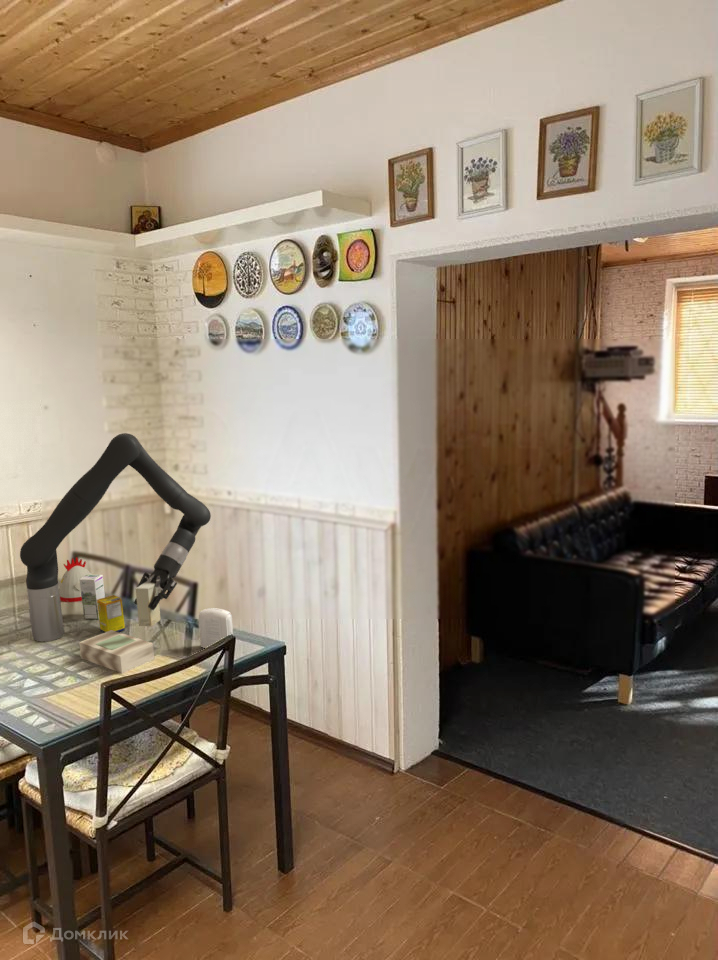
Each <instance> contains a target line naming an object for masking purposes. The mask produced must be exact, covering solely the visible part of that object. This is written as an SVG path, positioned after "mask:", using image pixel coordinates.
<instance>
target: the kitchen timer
mask: <svg viewBox="0 0 718 960" xmlns="http://www.w3.org/2000/svg"><path fill="white" fill-rule="evenodd" d="M70 561H71V563H70ZM82 562H83V559H81V558H80V559H79V558H78V557H77V556H76V557H75V560H74V558H73V557H72V558H71V560H69V559H66V564H65V563H63V566H64V568H65V569H66V571H65V573H63V575H62V578H61V580H60V583H59V593H60V602H62V603H63V602H64V603H77V602H82V596H81V588H80V579H81V578H82V577H84V576H85V575H92V573H91V572H90V571H89V570H88V569H87V568H85V567H86V565H87V561H85V560H84V562H83V564H82Z"/></svg>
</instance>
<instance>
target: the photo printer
mask: <svg viewBox="0 0 718 960" xmlns="http://www.w3.org/2000/svg"><path fill="white" fill-rule="evenodd" d="M198 613H199V614H198V626H199V628H198V630H199V642H200V648H201V647H203V648H202V649H204V648H205V647H207V646H209V645H211V644H213V643H215V642H216V641H218V640H220V639H221V638H223V637H225V636H228V635H231V634H233V635H234V629H233V616H232V613H231V612H230V611H228V610H226V609H223V608H216V607H212V608H211V607H208V608H204V609H202V610H200V611H199V612H198Z"/></svg>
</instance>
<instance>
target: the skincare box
mask: <svg viewBox="0 0 718 960" xmlns="http://www.w3.org/2000/svg"><path fill="white" fill-rule="evenodd" d="M155 586H156V584H155V583H143V584H142V585H140V586H139V587H136V588H135V595H136V596H135V599H137V605H136V607H137V617H138V626H139V627H152V626H154V625H156V623H159V622H160V621H161V612H160V611H161V609H160V602H159V603H158V605H157V607H156V608H155V609H154V610H151V609H150V608H149V607H148V605H149V604H150V602H151V600H152V599H153V597H154V596H155V593H156V589H155Z"/></svg>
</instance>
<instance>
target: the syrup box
mask: <svg viewBox="0 0 718 960" xmlns="http://www.w3.org/2000/svg"><path fill="white" fill-rule="evenodd" d="M80 588H81V596H82V601H81V604H82V612H83V619H84V620H99V614H98V605H97V599H101V598H105V597H106V595H105V587H104V575H103V574H91V575H85V576H84V577H82V578H81V579H80Z"/></svg>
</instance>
